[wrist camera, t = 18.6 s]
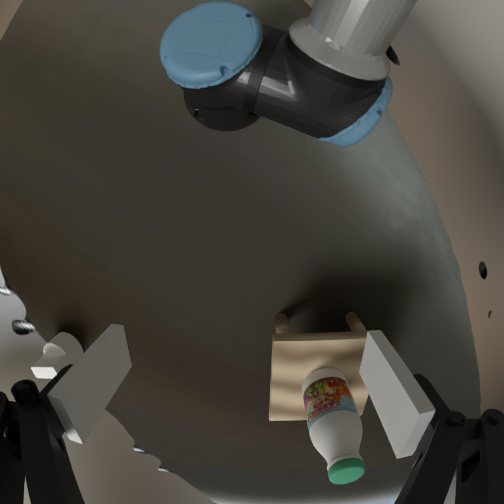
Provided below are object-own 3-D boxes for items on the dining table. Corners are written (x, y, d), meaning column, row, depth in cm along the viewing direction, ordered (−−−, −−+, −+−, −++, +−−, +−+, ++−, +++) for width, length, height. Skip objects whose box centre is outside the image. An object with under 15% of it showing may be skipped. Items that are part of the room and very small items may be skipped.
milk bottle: (354, 376, 45) (389, 464, 26) (325, 405, 47) (347, 493, 28) (320, 359, 45) (348, 454, 25) (292, 390, 46) (303, 485, 27)
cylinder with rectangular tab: (74, 330, 59) (47, 355, 47) (89, 362, 61) (66, 389, 49) (51, 333, 60) (24, 355, 48) (65, 363, 62) (42, 388, 50)
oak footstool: (271, 309, 56) (273, 341, 44) (361, 307, 55) (382, 336, 44) (268, 382, 60) (269, 420, 48) (348, 379, 59) (362, 414, 48)
